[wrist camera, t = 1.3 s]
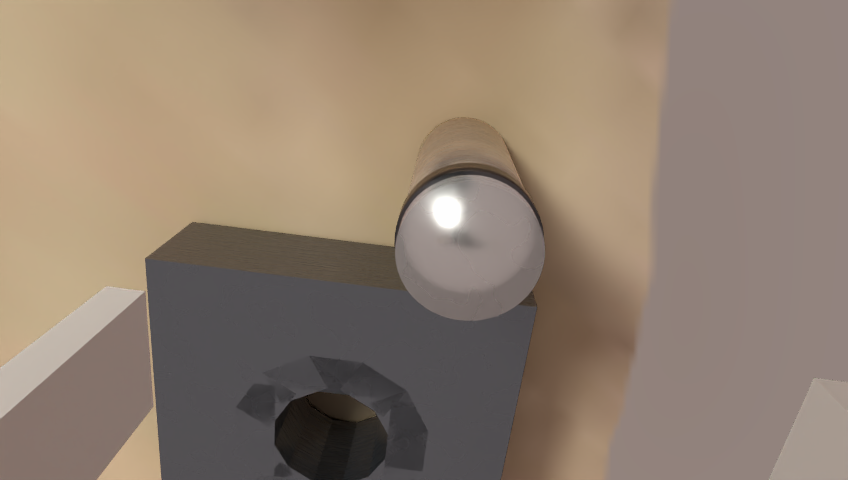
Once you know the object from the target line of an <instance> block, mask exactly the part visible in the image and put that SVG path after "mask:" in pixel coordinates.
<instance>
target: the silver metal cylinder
mask: <svg viewBox="0 0 848 480" xmlns="http://www.w3.org/2000/svg"><path fill="white" fill-rule="evenodd" d="M395 259H396V266H397V270H398V273H399V276H400V278H401V281H402V282H403V284H404V286H405V288H406V289H407V290H408V292H409V293H410V294H411V296H412V297H413V298H414V299H415V300H416V301H417V302H419V303H420V304H421V305H422V306H424V307H425V308H427V309H428V310H430V311H432V312H434V313H436V314H438V315H440V316H443V317H446V318H450V319H455V320H462V321H477V320H484V319H489V318H492V317H496V316H498V315H501V314H503V313H505V312H507V311H509V310H511V309H512V308H514V307H515V306H517V305H518V304H519V303H521V302H522V301H523V300H524V299H525V298H526V297H527V296H528V295H529V293H530V292H531V291H532V290H533V288H534V286H535V285H536V283H537V282H538V279H539V277H540V275H541V272H542V269H543V265H544V259H545V243H544V233H543V227H542V223H541V220H540V217H539V214H538V212H537V210H536V208H535V205H534V203H533V201H532V199H531V197H530V195H529V194H528V192H527V191H526V189H525V188H524V187H523V185H522V182H521V180H520V177H519V175H518V173H517V170H516V168H515V166H514V163H513V161H512V158H511V156H510V154H509V151H508V149H507V147H506V144H505V142H504V140H503V139H502V137H501V135H500V134H499V133H498V132H497V131H496V130H495V129H494V128H493V127H492V126H490V125H489V124H487V123H485V122H483V121H481V120H478V119H474V118H466V117H462V118H454V119H450V120H447V121H445V122H443V123H441V124H439V125H438V126H436V127H435V128H434V129H433V130H432V131H431V132H430V133H429V134H428V135H427V136H426V138H425V139H424V141H423V143H422V145H421V148H420V151H419V154H418V158H417V162H416V166H415V170H414V174H413V177H412V181H411V185H410V189H409V193H408V196H407V198H406V200H405V202H404V204H403V206H402V209H401V212H400V215H399V219H398V222H397V226H396V232H395Z"/></svg>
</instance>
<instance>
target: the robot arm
mask: <svg viewBox="0 0 848 480" xmlns="http://www.w3.org/2000/svg"><path fill="white" fill-rule="evenodd" d="M152 407H153V395H152V381H151V366H150V352H149V338H148V324H147V310H146V295H145V291H140V290H132V289H124V288H116V287H109V286H106V287H105V288H103V289H102V290H101V291H99V292H98V293H97V294H95V295H94V296H93V297H92V298H90V299H89V300H88V301H86V302H85V303H84V304H82V305H81V306H80V307H79V308H77V309H76V310H75V311H73V312H72V313H71V314H69V315H68V316H67V317H66V318H64V319H63V320H62V321H60V322H59V323H58V324H56V325H55V326H54V327H53V328H51V329H50V330H49V331H47V332H46V333H45V334H43V335H42V336H41V337H40V338H38V339H37V340H36V341H34V342H33V343H32V344H30V345H29V346H28V347H27V348H25V349H24V350H23V351H21V352H20V353H19V354H17V355H16V356H15V357H14V358H12V359H11V360H10V361H8V362H7V363H6V364H4V365H3V366H2V367H0V480H97V478H98V477H99V476H100V475H101V473H102V472H103V471H104V469H105V468H106V467H107V466H108V464H109V463H110V462H111V460H112V459H113V458H114V456H115V455H116V454H117V453H118V451H119V450H120V449H121V447H122V446H123V445H124V444H125V442H126V441H127V440H128V438H129V437H130V436H131V435H132V433H133V432H134V431H135V429H136V428H137V427H138V426H139V424H140V423H141V422H142V420H143V419H144V418H145V417H146V415H147V414H148V413H149V411H150V410H151V409H152ZM769 480H848V382H842V381H834V380H826V379H819V378H814V379H813V381H812V383H811V386H810V388H809V390H808V392H807V395H806V397H805V399H804V401H803V404H802V406H801V408H800V410H799V412H798V415H797V417H796V419H795V421H794V424H793V426H792V428H791V430H790V433H789V435H788V437H787V440H786V442H785V444H784V446H783V448H782V451H781V453H780V455H779V457H778V459H777V462H776V464H775V466H774V469H773V471H772V473H771V475H770V477H769Z"/></svg>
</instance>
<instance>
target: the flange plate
mask: <svg viewBox="0 0 848 480" xmlns="http://www.w3.org/2000/svg"><path fill="white" fill-rule="evenodd" d="M145 263H146V276H147V289H148V303H149V316H150V330H151V343H152V357H153V370H154V384H155V397H156V411H157V424H158V437H159V451H160V464H161V478H162V480H501V476H502V471H503V467H504V462H505V457H506V452H507V448H508V443H509V438H510V433H511V429H512V424H513V419H514V414H515V410H516V405H517V400H518V395H519V391H520V386H521V381H522V376H523V372H524V367H525V362H526V358H527V353H528V348H529V343H530V339H531V334H532V329H533V324H534V320H535V315H536V310H537V305H536V302H535V298H534V295H533V291H531V292H530V293H529V295H528V296H527V297H526V298H525V299H524V300H523V301H522V302H521V303H519V304H518V305H517V306H515V307H514V308H512V309H511V310H509V311H507V312H505V313H503V314H501V315H498V316H496V317H492V318H489V319H484V320H477V321H462V320H455V319H450V318H446V317H443V316H440V315H438V314H436V313H434V312H432V311H430V310H428V309H427V308H425V307H424V306H422V305H421V304H420V303H419V302H417V301H416V300H415V299H414V298H413V297H412V296H411V294H410V293H409V292H408V290H407V289H406V288H405V286H404V284H403V282H402V281H401V278H400V276H399V273H398V270H397V266H396V259H395V247H390V246H382V245H374V244H365V243H357V242H349V241H341V240H333V239H325V238H317V237H309V236H301V235H293V234H285V233H277V232H268V231H260V230H252V229H244V228H236V227H228V226H220V225H212V224H204V223H196V222H192V223H191V224H189V225H188V226H187V227H185V228H184V229H183V230H182V231H180V232H179V233H178V234H176V235H175V236H174V237H172V238H171V239H170V240H169V241H167V242H166V243H165V244H163V245H162V246H161V247H159V248H158V249H157V250H156V251H154V252H153V253H152V254H150V255H149V256H148V257H147V258H145ZM318 391H319V392H327V393H335V394H343V395H350V396H351V397H353V398H354V399H356V400H358V401H359V402H361V403H362V404H364V405H366V406H367V407H369V408H370V409H372V410H373V411H375V413H376V414H377V416H376V417H373V418H370V419H367V420H364V421H361V422H358V423H356V422H348V421H340V420H332V419H330V418H329V417H327V416H326V415H324V414H322V413H321V412H319V411H317V410H316V409H314V408H312V407H311V406H310V404H309V403H308V401H307V399H306V398H305V396H306V395H309V394H312V393H315V392H318Z"/></svg>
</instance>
